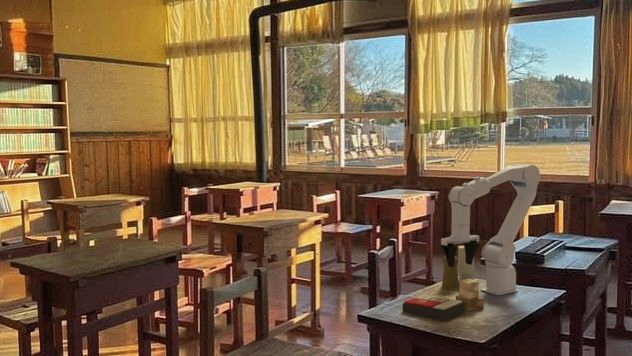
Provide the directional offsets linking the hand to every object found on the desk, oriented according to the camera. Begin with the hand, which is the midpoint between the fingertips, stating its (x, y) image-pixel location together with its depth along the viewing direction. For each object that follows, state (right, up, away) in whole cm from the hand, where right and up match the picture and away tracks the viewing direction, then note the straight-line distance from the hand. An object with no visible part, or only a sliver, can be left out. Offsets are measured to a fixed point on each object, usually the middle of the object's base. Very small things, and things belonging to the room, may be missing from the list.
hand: (460, 265), depth 197 cm
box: (+7, -9, +19) cm, 22 cm away
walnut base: (0, -12, -11) cm, 16 cm away
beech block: (0, -8, -11) cm, 14 cm away
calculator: (-12, -13, -15) cm, 23 cm away
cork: (0, -10, +13) cm, 16 cm away
